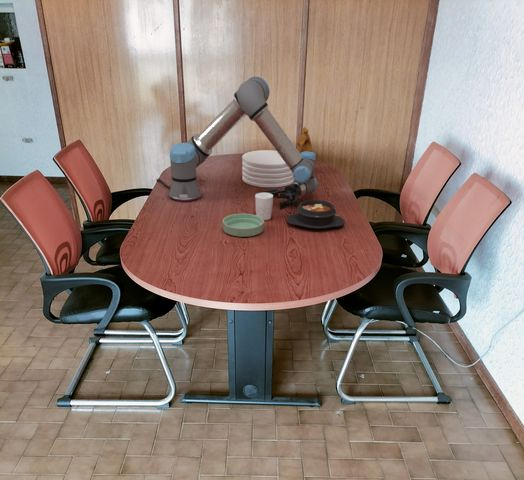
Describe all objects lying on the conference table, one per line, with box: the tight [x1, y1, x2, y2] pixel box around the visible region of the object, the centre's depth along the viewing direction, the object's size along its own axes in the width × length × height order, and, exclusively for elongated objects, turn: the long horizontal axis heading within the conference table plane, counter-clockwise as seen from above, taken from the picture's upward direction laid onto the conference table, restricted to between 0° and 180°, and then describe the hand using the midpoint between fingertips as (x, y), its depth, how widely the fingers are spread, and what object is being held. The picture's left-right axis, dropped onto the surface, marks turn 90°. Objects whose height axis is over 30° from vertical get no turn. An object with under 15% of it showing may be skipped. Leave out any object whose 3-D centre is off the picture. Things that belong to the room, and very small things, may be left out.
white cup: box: [254, 192, 274, 221], centre depth 228 cm, size 8×8×10 cm
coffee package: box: [295, 126, 314, 153], centre depth 285 cm, size 10×12×22 cm
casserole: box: [286, 199, 345, 230], centre depth 223 cm, size 25×19×8 cm
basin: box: [221, 213, 265, 238], centre depth 218 cm, size 17×17×4 cm
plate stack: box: [241, 149, 296, 188], centre depth 274 cm, size 28×28×12 cm
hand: (267, 203), depth 230 cm, fingers open, 13 cm apart
